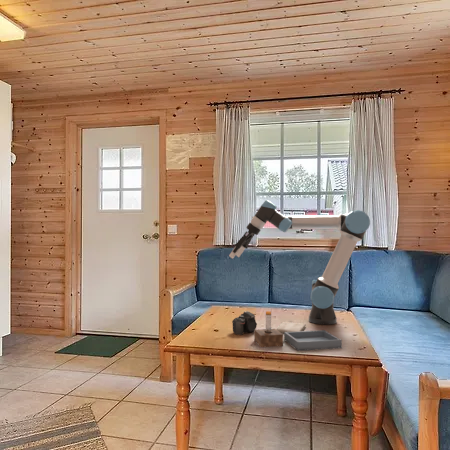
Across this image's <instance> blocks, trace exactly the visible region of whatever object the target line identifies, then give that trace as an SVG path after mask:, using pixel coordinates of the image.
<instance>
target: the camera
mask: <svg viewBox="0 0 450 450" xmlns="http://www.w3.org/2000/svg"><path fill="white" fill-rule="evenodd" d="M231 322H232V332H233V334H235V335H237V336H238V335H239V336H242V335H244V334H246V333H252V332H254V330H257V325H258V323H257V321H256V315H255V314H254V313H252V312H250V311H248V310H247V311H243V312H242V313H241V314H240V315H239V316H238V317H235V318H234V319H232V321H231Z"/></svg>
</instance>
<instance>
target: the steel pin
mask: <svg viewBox="0 0 450 450" xmlns="http://www.w3.org/2000/svg"><path fill="white" fill-rule="evenodd" d="M265 329H266V333H271V329H272V311H270V310H269V311H268V310H266V311H265Z"/></svg>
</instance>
